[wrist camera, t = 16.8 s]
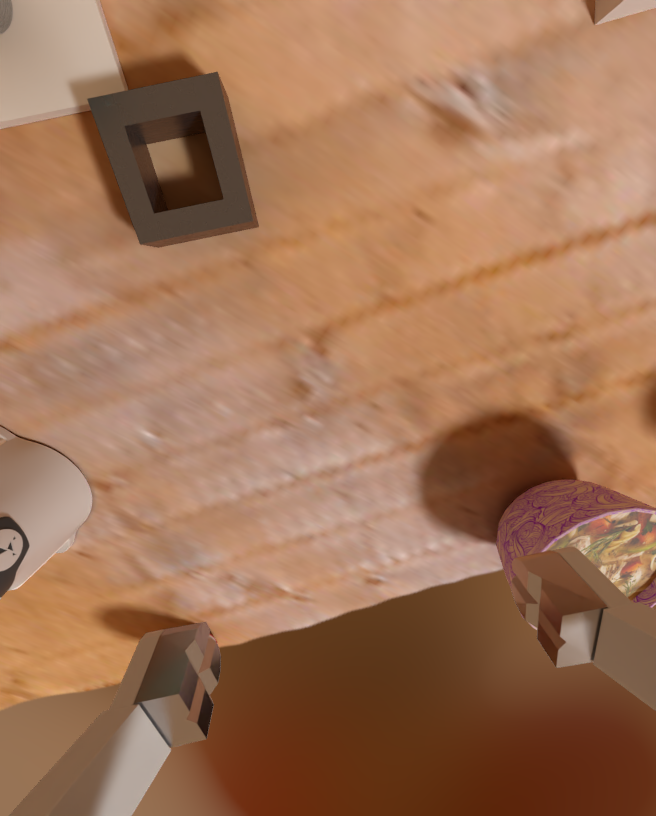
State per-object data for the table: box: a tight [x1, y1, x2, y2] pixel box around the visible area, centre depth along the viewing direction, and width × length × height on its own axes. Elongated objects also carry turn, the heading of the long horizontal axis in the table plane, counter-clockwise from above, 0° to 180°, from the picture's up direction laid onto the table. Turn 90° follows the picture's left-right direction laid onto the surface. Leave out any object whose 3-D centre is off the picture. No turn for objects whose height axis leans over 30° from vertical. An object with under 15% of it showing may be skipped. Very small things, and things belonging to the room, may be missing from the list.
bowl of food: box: [496, 480, 656, 629], centre depth 44 cm, size 20×20×12 cm
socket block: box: [87, 72, 259, 248], centre depth 29 cm, size 10×10×4 cm
